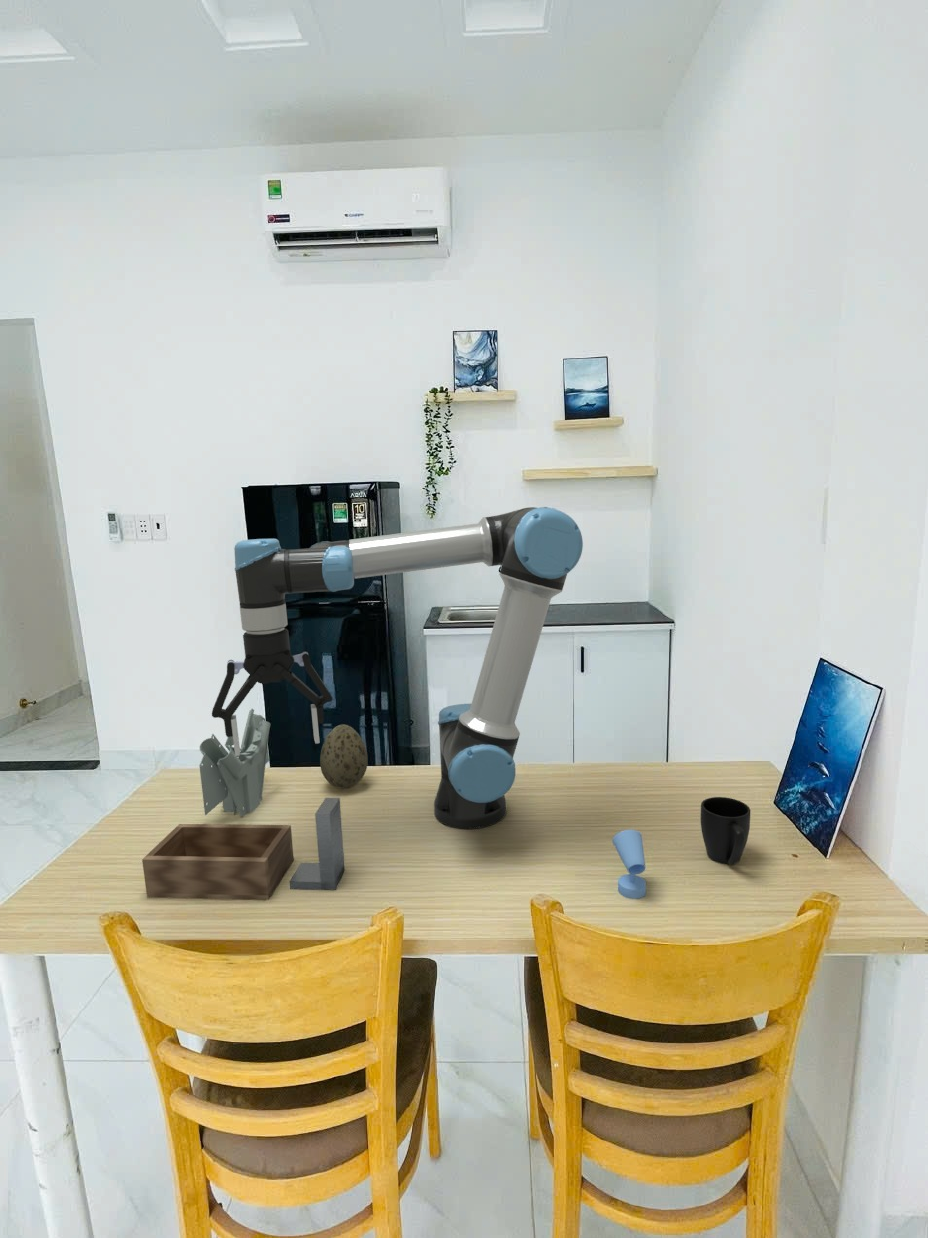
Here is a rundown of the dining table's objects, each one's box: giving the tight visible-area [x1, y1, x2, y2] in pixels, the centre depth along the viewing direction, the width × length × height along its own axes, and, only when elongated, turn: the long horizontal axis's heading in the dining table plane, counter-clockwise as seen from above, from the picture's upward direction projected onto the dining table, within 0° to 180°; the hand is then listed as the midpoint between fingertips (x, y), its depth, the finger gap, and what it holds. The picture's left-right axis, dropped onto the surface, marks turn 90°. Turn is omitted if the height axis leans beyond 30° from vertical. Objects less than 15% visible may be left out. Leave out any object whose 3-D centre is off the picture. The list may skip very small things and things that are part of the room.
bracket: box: [199, 708, 271, 818], centre depth 144 cm, size 28×7×20 cm, turn 170°
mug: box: [700, 796, 752, 866], centre depth 117 cm, size 8×12×10 cm
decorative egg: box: [319, 723, 369, 790], centre depth 153 cm, size 11×11×15 cm
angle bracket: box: [288, 797, 346, 891], centre depth 115 cm, size 8×6×14 cm
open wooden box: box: [141, 823, 295, 901], centre depth 118 cm, size 21×12×7 cm, turn 85°
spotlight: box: [612, 829, 647, 900], centre depth 110 cm, size 5×10×7 cm
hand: (277, 747), depth 118 cm, fingers open, 13 cm apart
